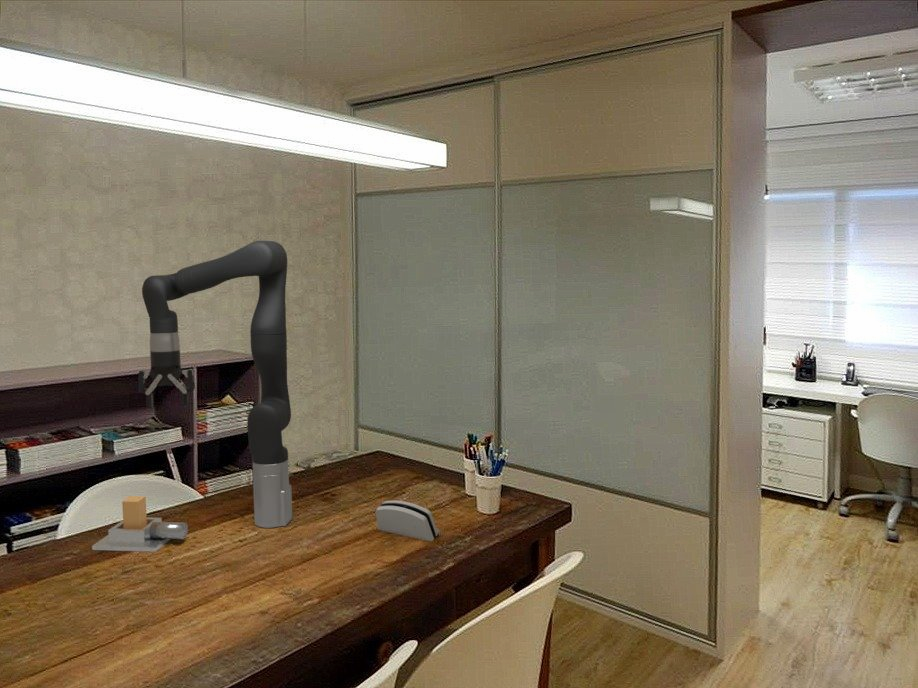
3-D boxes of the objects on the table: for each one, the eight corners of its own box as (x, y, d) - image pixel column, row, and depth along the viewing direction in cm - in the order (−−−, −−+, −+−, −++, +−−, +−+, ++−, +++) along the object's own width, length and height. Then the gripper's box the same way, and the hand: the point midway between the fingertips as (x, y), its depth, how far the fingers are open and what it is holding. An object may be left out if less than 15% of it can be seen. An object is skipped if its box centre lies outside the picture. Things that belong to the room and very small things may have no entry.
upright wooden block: (147, 537, 181) (145, 496, 180) (140, 544, 177) (138, 501, 176) (132, 537, 181) (129, 496, 180) (124, 544, 177) (122, 501, 176)
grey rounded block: (441, 534, 184) (435, 503, 179) (433, 546, 180) (426, 515, 176) (387, 523, 191) (380, 493, 187) (378, 534, 188) (370, 504, 184)
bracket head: (195, 533, 184) (194, 514, 184) (173, 552, 172) (172, 532, 172) (118, 531, 186) (117, 512, 185) (92, 549, 174) (90, 530, 173)
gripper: (133, 351, 188) (136, 411, 190) (190, 350, 191) (192, 409, 193) (140, 347, 196) (143, 405, 198) (194, 346, 198) (197, 403, 200)
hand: (167, 407), depth 195 cm, fingers open, 8 cm apart
